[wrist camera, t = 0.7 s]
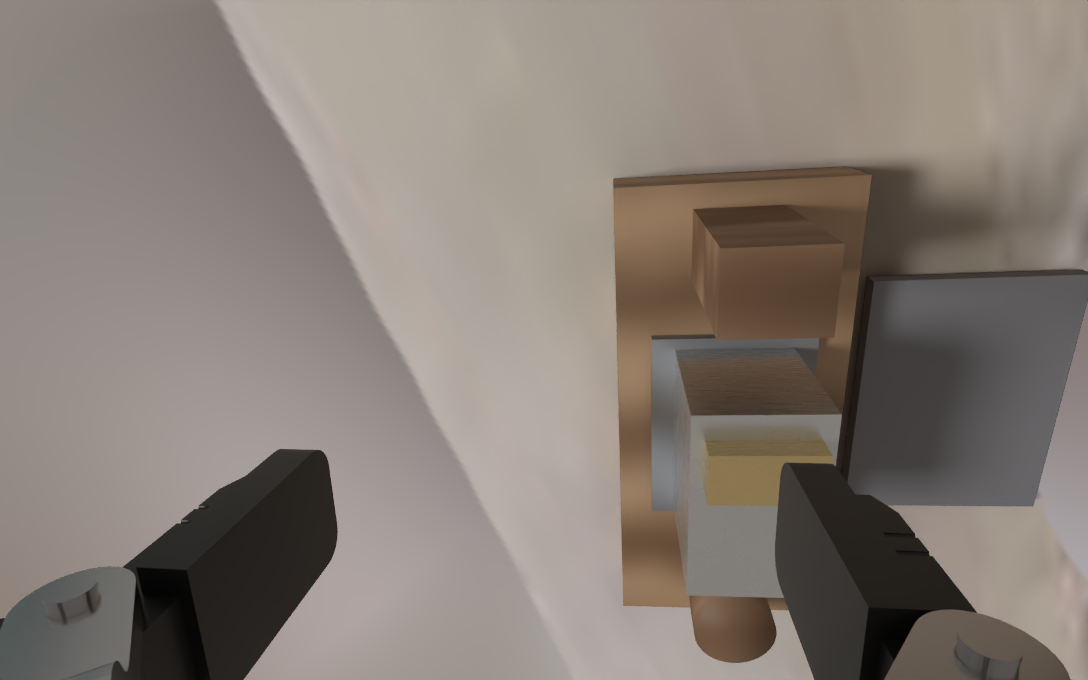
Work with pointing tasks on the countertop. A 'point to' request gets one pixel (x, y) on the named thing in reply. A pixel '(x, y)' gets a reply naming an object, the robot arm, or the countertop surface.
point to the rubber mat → (960, 385)
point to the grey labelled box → (741, 460)
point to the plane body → (721, 340)
